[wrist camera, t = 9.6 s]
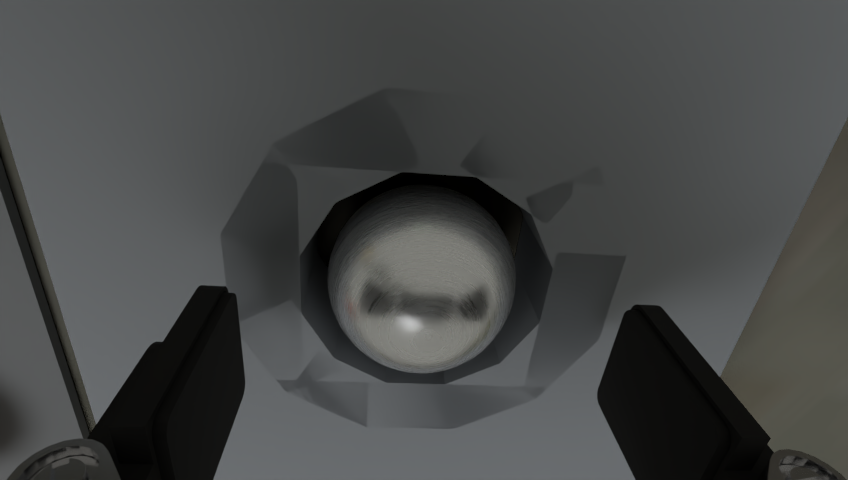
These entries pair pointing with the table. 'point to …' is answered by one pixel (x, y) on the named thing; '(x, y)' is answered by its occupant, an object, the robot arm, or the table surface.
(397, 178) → the table surface
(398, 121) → the board
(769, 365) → the table surface
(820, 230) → the table surface
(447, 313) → the steel ball
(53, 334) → the mat
